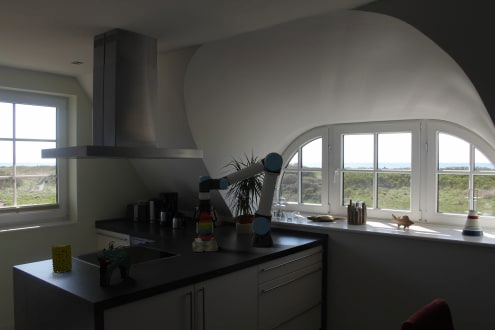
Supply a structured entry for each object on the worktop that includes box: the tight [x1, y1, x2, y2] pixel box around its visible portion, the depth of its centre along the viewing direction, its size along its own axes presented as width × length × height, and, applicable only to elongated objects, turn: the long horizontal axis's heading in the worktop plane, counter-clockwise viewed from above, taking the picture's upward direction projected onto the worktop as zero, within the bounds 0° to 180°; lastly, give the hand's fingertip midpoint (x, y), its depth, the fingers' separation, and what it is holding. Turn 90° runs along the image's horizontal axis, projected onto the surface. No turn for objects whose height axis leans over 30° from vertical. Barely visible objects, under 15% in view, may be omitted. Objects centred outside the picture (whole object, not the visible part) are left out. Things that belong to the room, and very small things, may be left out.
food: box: [51, 243, 73, 273], centre depth 209 cm, size 15×12×10 cm
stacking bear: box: [197, 212, 215, 239], centre depth 261 cm, size 11×10×18 cm
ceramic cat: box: [97, 240, 131, 287], centre depth 190 cm, size 20×6×20 cm, turn 158°
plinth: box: [192, 237, 219, 253], centre depth 261 cm, size 16×16×6 cm
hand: (204, 232), depth 261 cm, fingers closed on stacking bear, 9 cm apart
